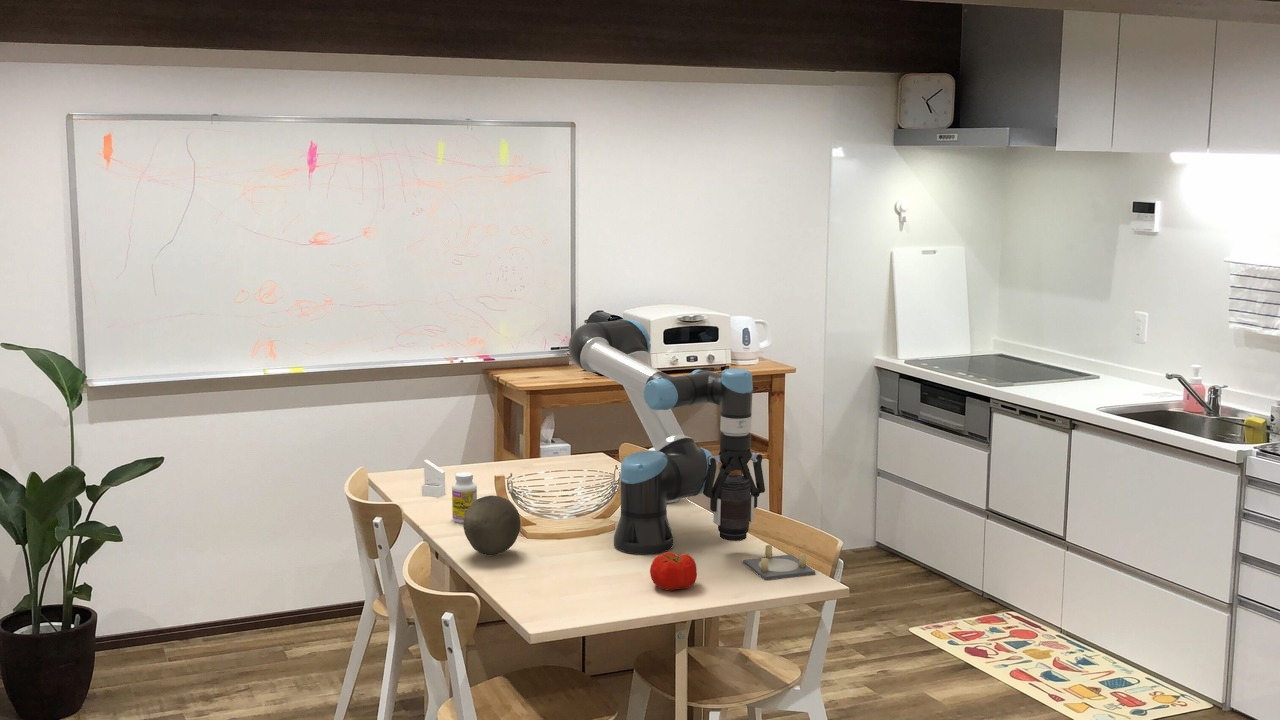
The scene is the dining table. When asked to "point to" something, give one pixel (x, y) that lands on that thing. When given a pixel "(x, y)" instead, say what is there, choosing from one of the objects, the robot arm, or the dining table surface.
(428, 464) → the white wedge bracket
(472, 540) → the matte black sphere
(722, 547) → the dining table surface
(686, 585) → the tomato
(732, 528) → the camera lens
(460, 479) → the supplement bottle
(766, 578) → the mount
